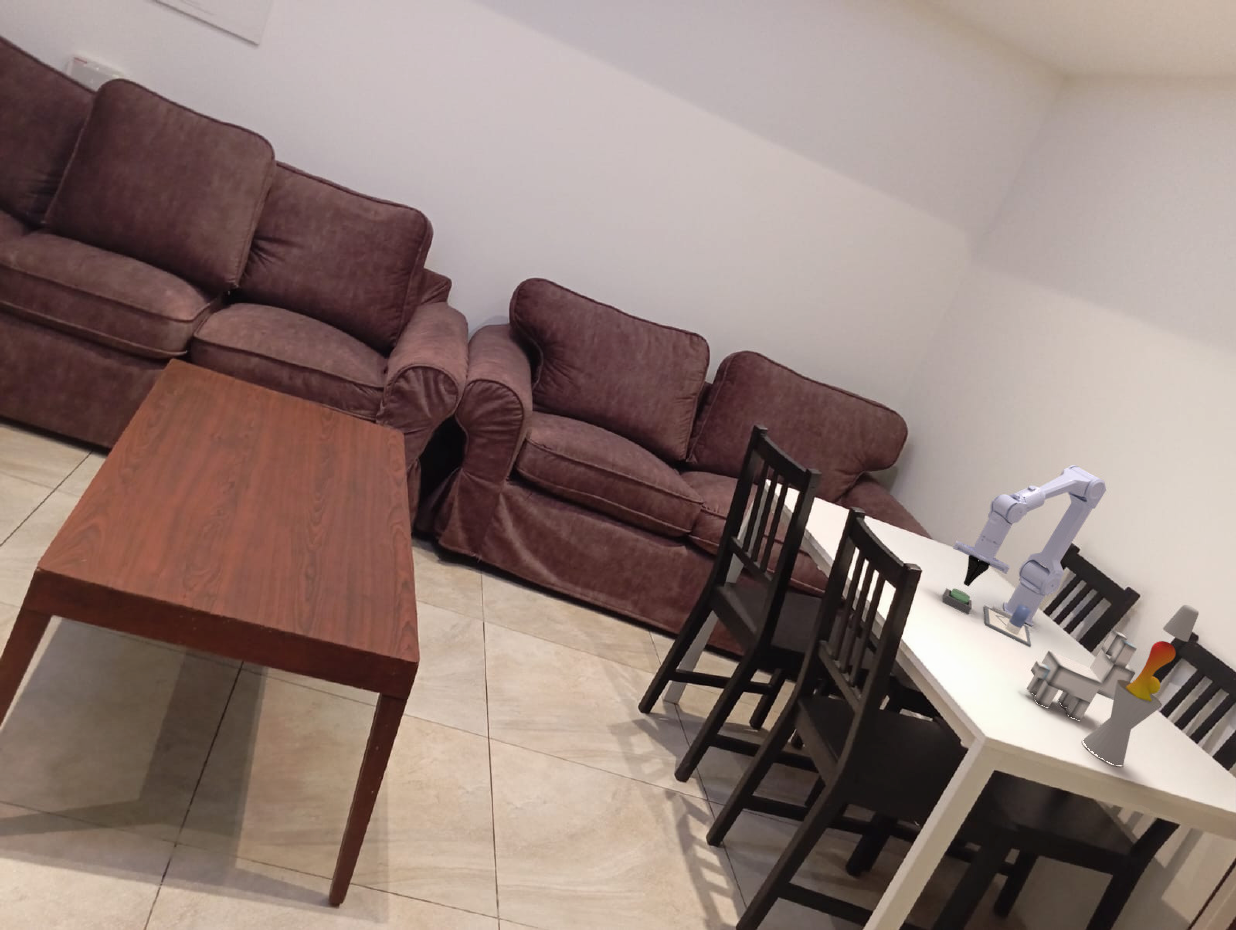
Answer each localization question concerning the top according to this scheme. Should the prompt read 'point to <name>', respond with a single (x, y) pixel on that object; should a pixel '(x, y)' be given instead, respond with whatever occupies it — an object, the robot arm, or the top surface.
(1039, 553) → the robot arm
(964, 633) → the top surface
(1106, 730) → the lava lamp
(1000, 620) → the clipboard
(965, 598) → the button
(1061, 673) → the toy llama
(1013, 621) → the marker
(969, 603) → the button housing
